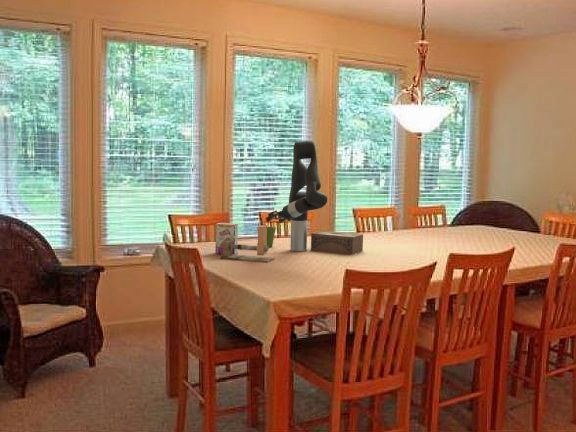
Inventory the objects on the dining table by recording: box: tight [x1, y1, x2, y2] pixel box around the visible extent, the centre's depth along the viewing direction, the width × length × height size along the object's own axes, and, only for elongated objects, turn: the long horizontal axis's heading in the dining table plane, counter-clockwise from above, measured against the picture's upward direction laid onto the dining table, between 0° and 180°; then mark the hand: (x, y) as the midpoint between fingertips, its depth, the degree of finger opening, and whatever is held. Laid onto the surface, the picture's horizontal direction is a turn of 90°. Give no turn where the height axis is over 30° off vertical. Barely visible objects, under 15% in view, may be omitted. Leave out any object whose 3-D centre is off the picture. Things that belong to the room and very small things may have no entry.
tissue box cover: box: [310, 230, 364, 255], centre depth 356 cm, size 26×14×10 cm, turn 61°
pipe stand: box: [219, 241, 275, 264], centre depth 322 cm, size 10×26×8 cm, turn 72°
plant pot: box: [256, 226, 277, 249], centre depth 363 cm, size 12×12×11 cm
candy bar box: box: [215, 222, 239, 255], centre depth 336 cm, size 11×5×16 cm, turn 74°
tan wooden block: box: [256, 225, 268, 257], centre depth 319 cm, size 6×3×15 cm, turn 162°
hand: (272, 220), depth 321 cm, fingers open, 8 cm apart
